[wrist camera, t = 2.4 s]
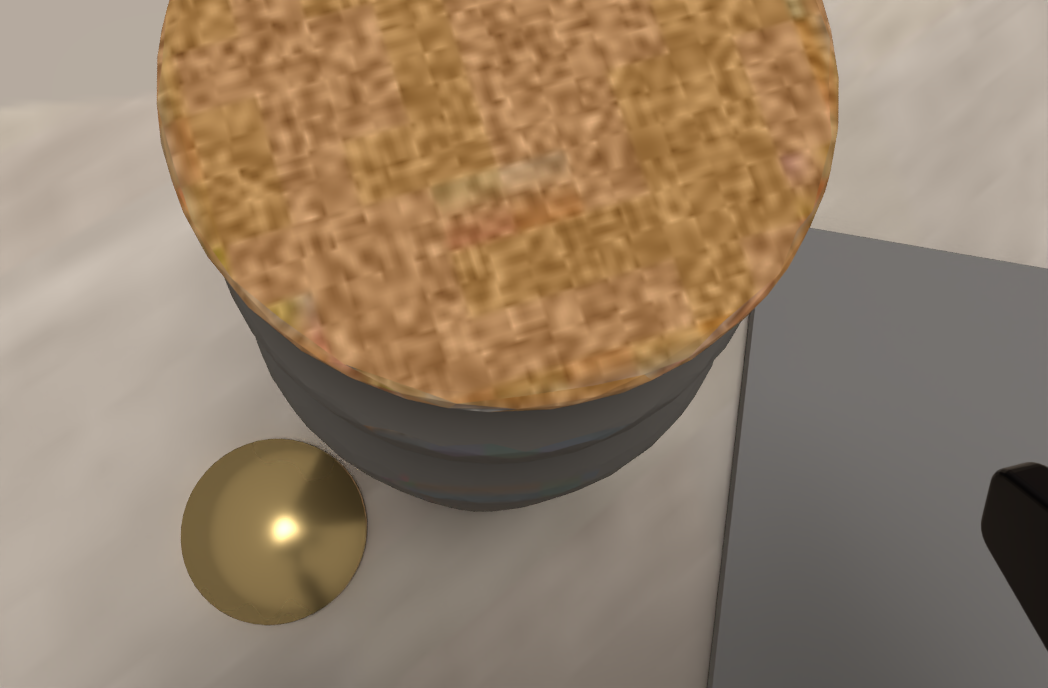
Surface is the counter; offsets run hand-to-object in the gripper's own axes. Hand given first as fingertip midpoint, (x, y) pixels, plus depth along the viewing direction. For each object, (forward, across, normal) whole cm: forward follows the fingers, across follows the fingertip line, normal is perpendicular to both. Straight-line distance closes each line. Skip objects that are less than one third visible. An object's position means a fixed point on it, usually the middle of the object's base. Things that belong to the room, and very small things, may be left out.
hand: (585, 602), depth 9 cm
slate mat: (+7, -11, +9) cm, 15 cm away
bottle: (+11, 0, +5) cm, 12 cm away
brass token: (+9, +5, +7) cm, 13 cm away
